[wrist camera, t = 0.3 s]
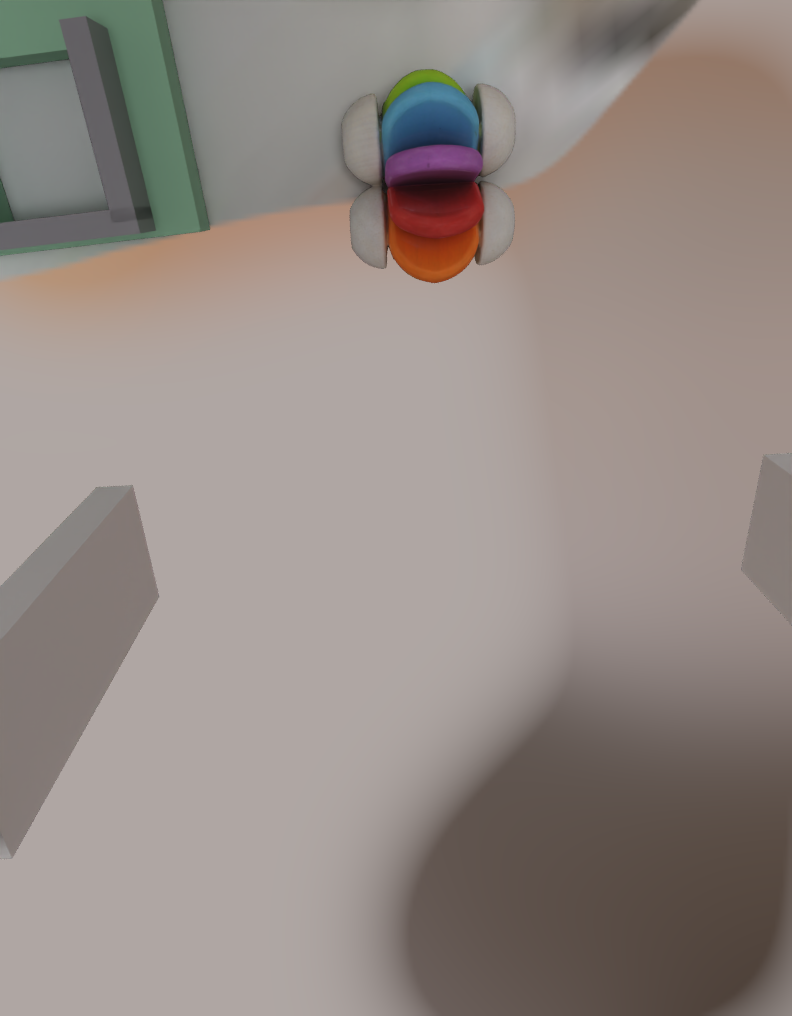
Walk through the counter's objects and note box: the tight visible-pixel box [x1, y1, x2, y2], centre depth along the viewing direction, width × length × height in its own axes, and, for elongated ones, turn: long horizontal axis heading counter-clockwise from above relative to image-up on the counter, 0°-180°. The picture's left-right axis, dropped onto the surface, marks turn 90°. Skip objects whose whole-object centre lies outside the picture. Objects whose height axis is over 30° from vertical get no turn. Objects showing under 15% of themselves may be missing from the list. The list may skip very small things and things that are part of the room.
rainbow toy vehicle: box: [342, 69, 515, 283], centre depth 33 cm, size 8×10×7 cm
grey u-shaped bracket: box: [0, 16, 156, 250], centre depth 33 cm, size 9×9×2 cm
